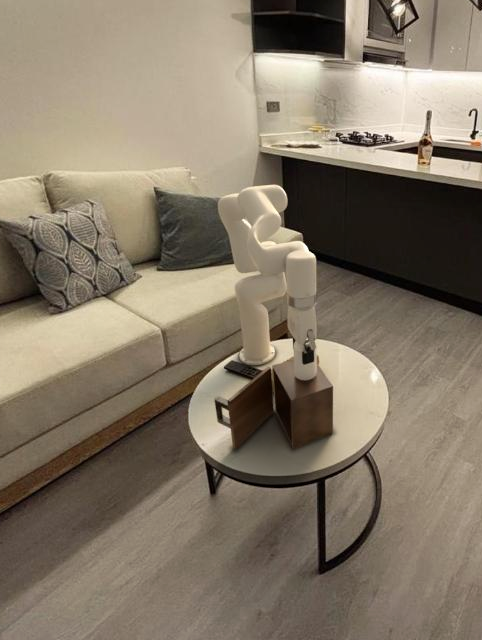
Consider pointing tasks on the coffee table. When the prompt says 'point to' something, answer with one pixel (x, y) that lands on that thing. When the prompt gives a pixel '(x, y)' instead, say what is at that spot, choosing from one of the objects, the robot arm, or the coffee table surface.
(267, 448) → the coffee table surface
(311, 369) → the beverage can
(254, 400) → the door
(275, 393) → the cupboard
